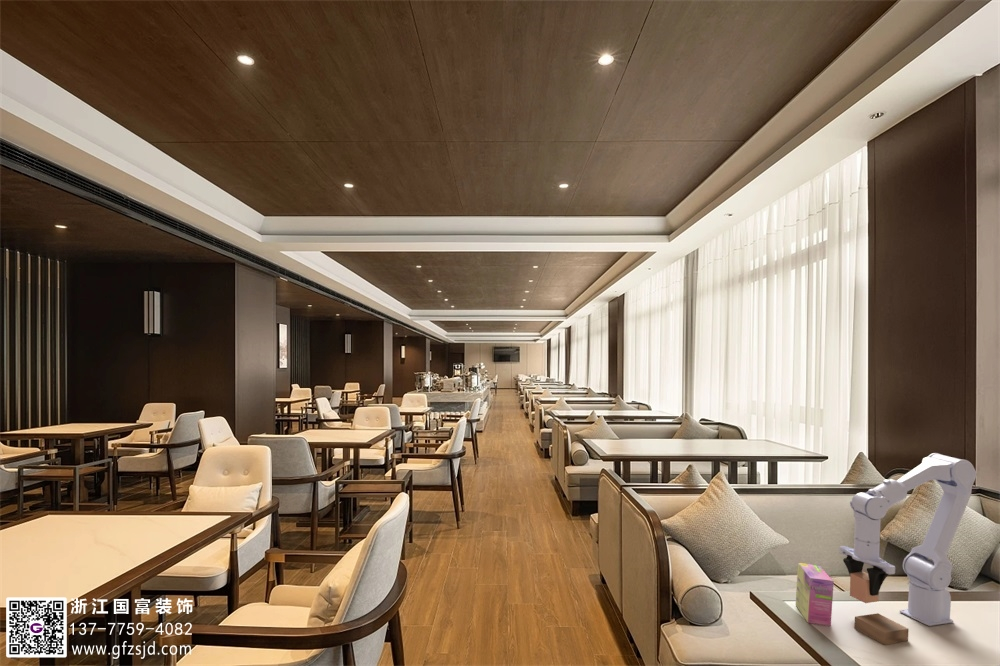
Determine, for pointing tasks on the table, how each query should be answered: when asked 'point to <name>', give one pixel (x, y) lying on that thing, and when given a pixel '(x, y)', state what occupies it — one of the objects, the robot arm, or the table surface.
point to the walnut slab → (881, 629)
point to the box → (814, 594)
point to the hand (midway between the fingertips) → (864, 590)
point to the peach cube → (861, 587)
